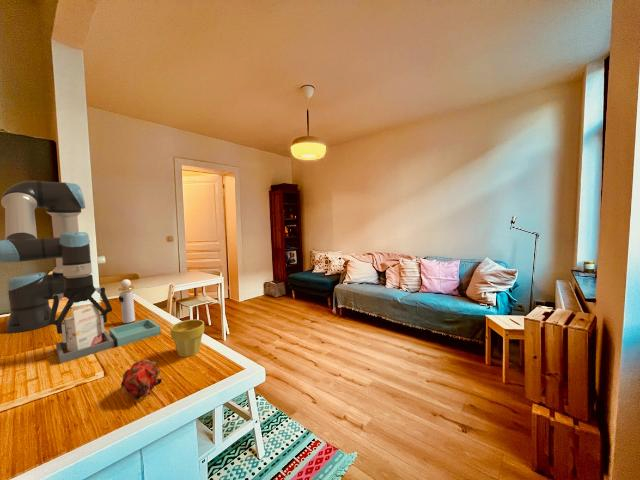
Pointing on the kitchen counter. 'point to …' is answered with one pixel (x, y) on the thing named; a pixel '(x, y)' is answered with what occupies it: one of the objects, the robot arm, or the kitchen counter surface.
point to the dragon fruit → (141, 378)
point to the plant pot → (187, 336)
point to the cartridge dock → (84, 349)
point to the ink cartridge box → (83, 328)
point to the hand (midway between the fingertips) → (84, 336)
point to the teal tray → (134, 332)
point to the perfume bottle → (127, 301)
